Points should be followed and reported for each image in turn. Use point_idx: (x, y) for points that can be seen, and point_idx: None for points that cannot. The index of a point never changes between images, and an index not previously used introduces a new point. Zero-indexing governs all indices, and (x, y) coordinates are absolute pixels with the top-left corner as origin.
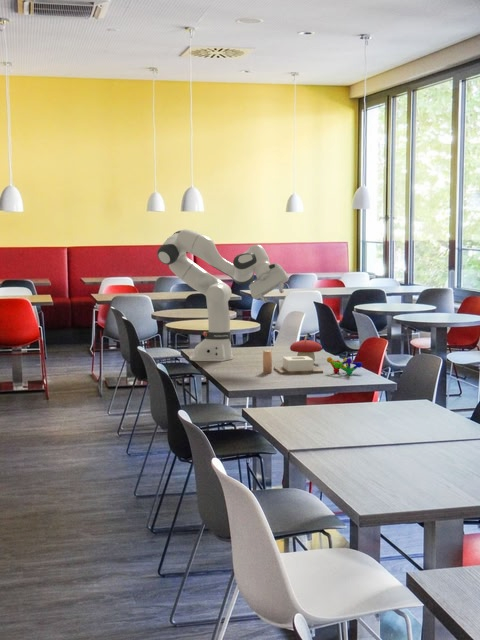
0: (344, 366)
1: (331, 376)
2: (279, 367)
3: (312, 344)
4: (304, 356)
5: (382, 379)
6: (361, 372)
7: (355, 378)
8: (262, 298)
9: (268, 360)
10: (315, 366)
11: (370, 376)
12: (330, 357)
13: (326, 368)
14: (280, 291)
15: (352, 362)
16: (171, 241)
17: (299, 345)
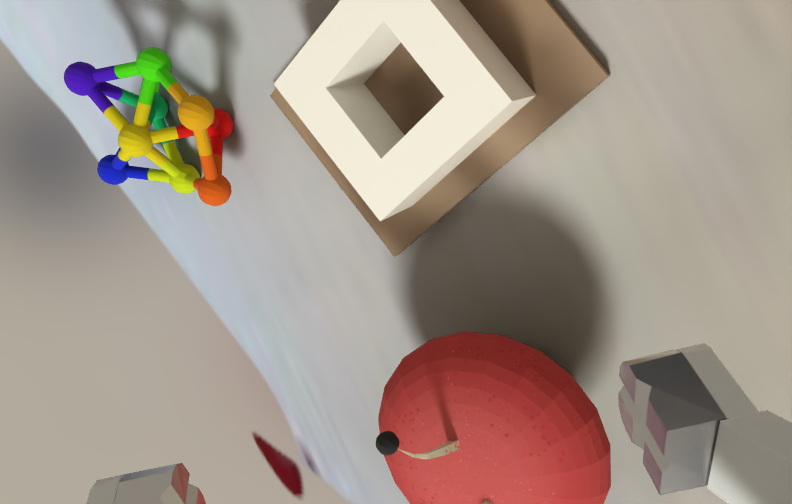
0: (192, 178)
1: (197, 13)
2: (553, 71)
3: (399, 406)
4: (387, 194)
5: (30, 70)
6: (163, 208)
7: (102, 27)
8: (767, 427)
9: None
10: (375, 226)
11: (91, 119)
12: (179, 112)
13: (337, 255)
14: (150, 474)
15: (119, 151)
16: None
17: (477, 367)
